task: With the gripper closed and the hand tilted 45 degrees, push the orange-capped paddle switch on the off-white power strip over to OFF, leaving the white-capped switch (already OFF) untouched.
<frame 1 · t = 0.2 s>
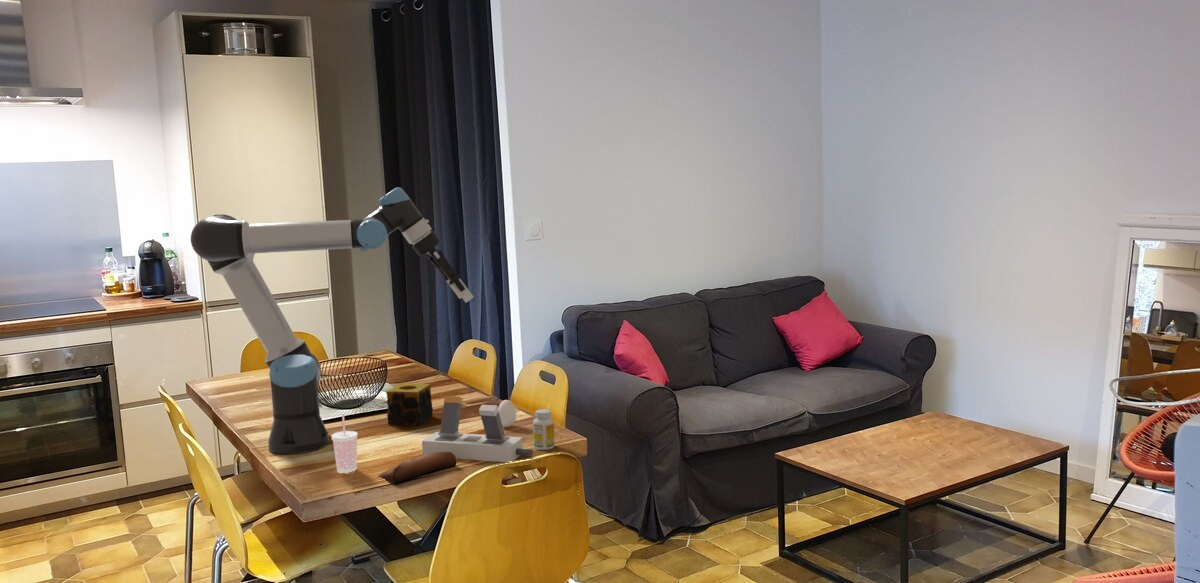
hand: (466, 298, 259), 35 cm above the table, tool tilted 35°, fingers open, 13 cm apart
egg: (507, 427, 253), on the table
sunglasses case: (417, 474, 217), on the table
power strip: (473, 454, 229), on the table
switch orange: (451, 416, 231), point 9 cm above the table, hinge at -25.0°
candle: (410, 421, 261), on the table
beverage cup: (346, 471, 219), on the table
switch white: (492, 423, 224), point 9 cm above the table, hinge at 25.0°
supplement bottle: (544, 447, 233), on the table
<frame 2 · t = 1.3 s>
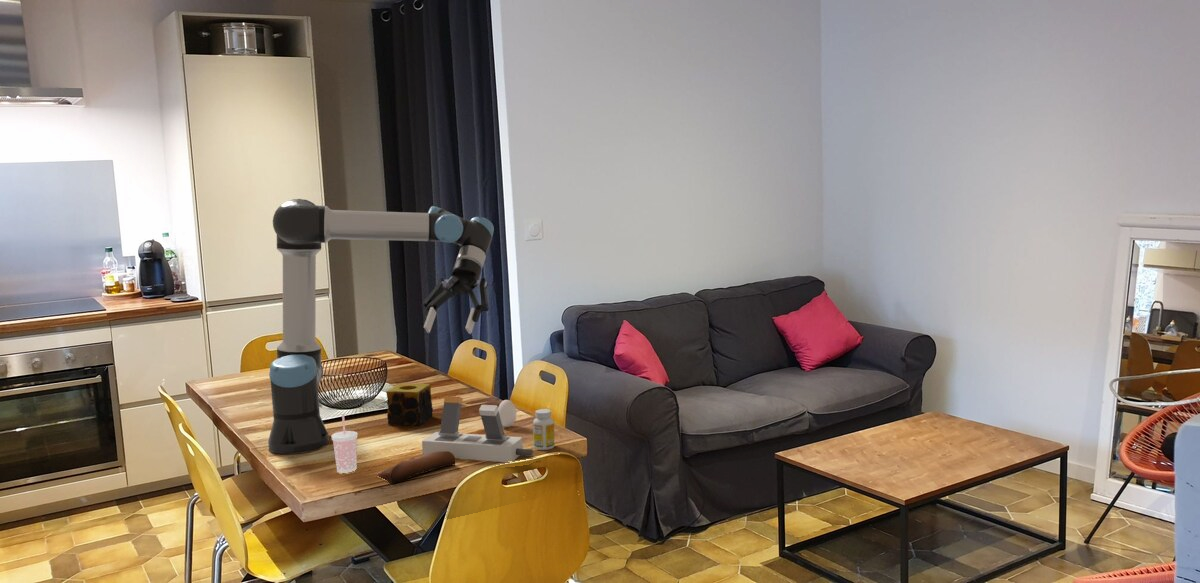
hand: (447, 330, 239), 29 cm above the table, tool tilted 45°, fingers open, 11 cm apart
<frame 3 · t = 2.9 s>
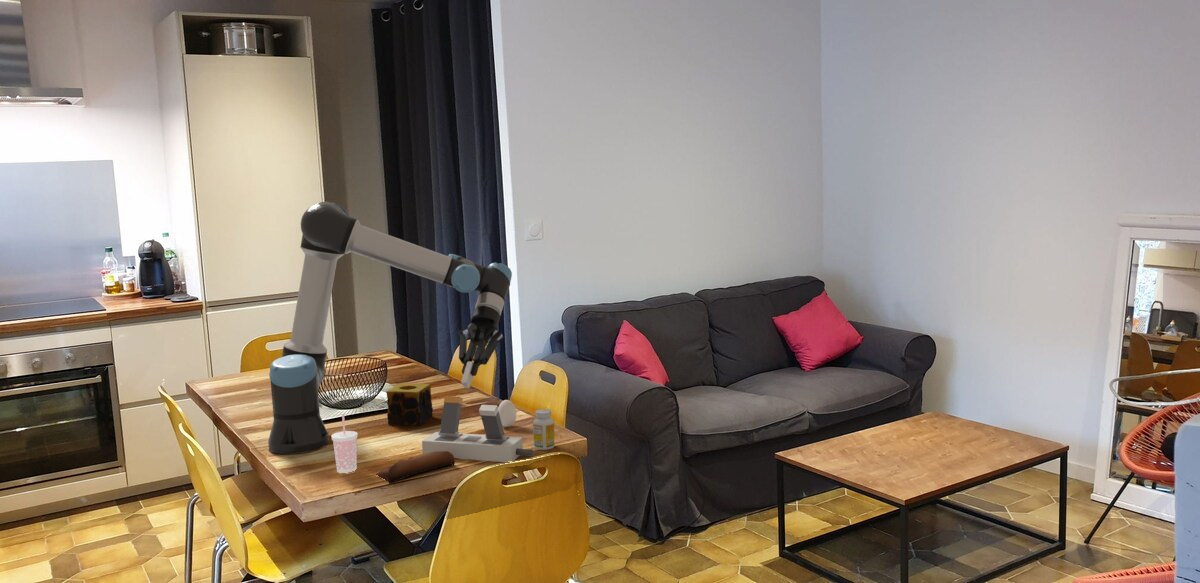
hand: (465, 385, 239), 15 cm above the table, tool tilted 45°, fingers closed
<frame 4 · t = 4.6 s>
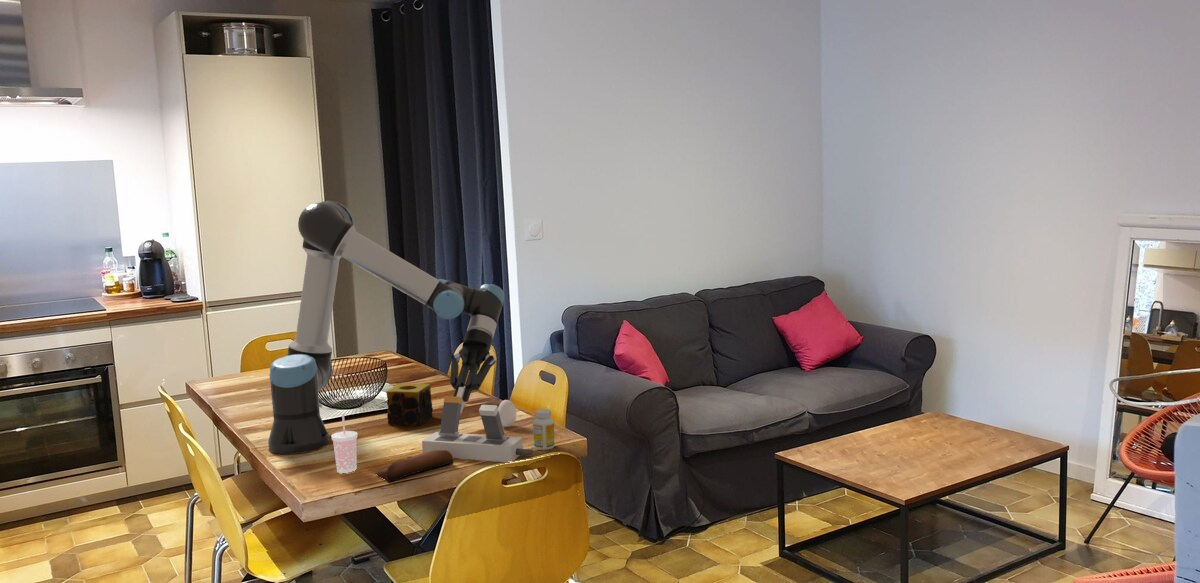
hand: (457, 411, 234), 10 cm above the table, tool tilted 45°, fingers closed
switch orange: (450, 416, 231), point 9 cm above the table, hinge at -24.2°, touching gripper
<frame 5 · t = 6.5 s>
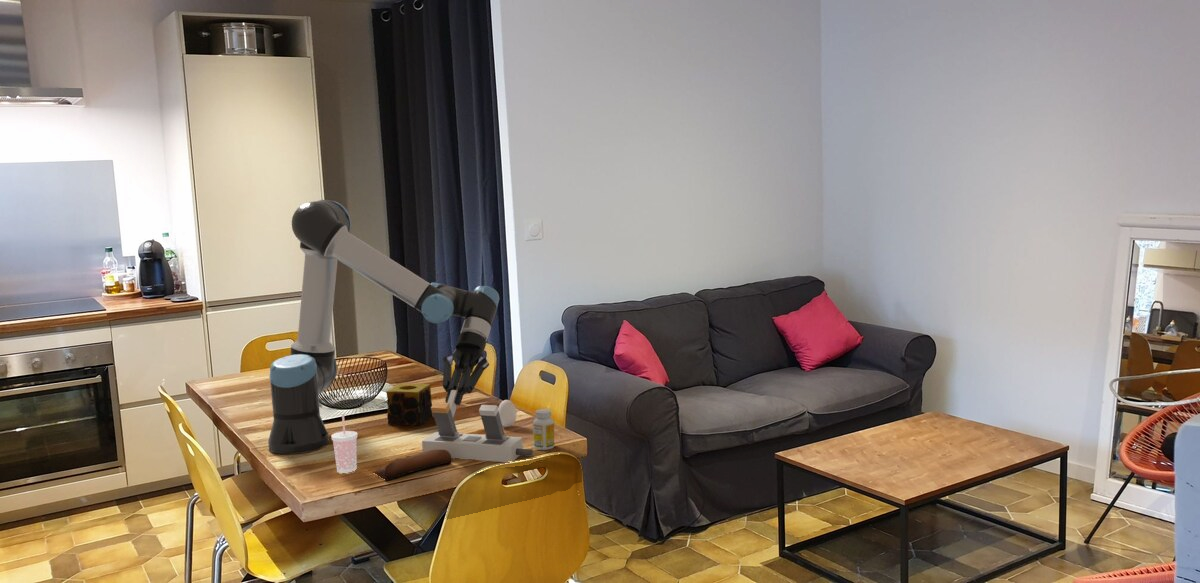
hand: (448, 414, 230), 10 cm above the table, tool tilted 45°, fingers closed
switch orange: (444, 420, 228), point 9 cm above the table, hinge at 25.2°
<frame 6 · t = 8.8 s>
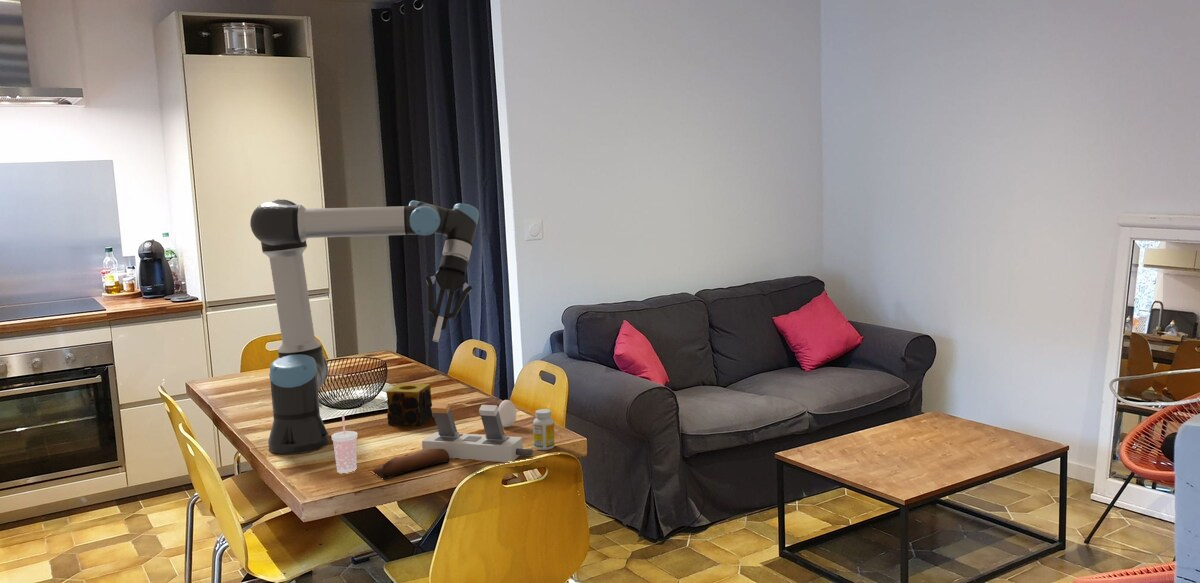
hand: (435, 340, 243), 26 cm above the table, tool tilted 25°, fingers closed
sunglasses case: (409, 470, 220), on the table
everything else where it was.
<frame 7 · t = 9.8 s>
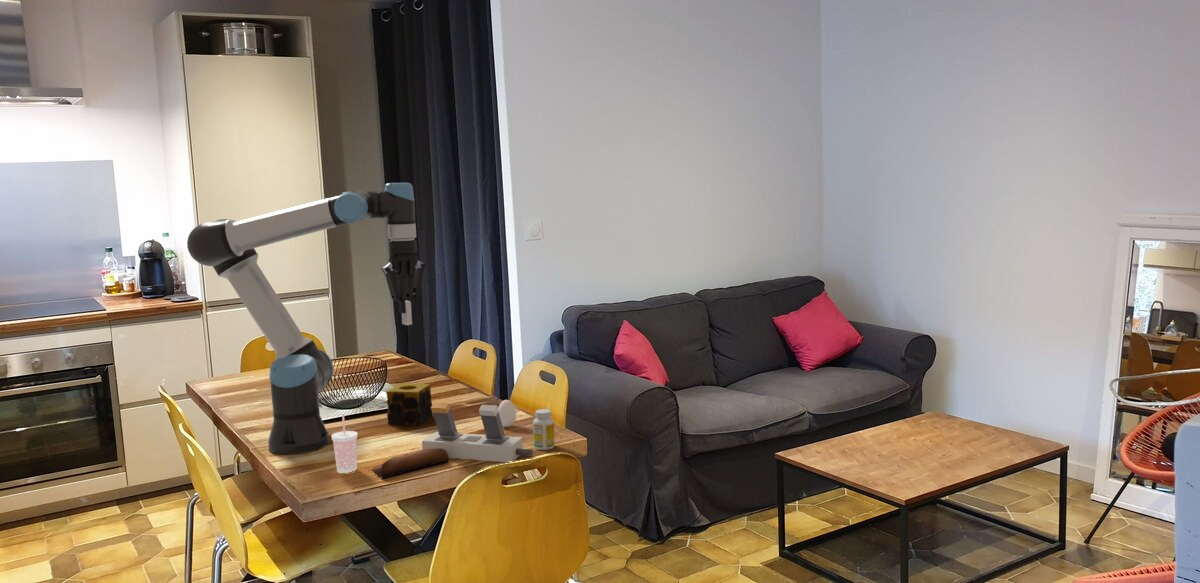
hand: (407, 324, 251), 29 cm above the table, tool pointing down, fingers closed
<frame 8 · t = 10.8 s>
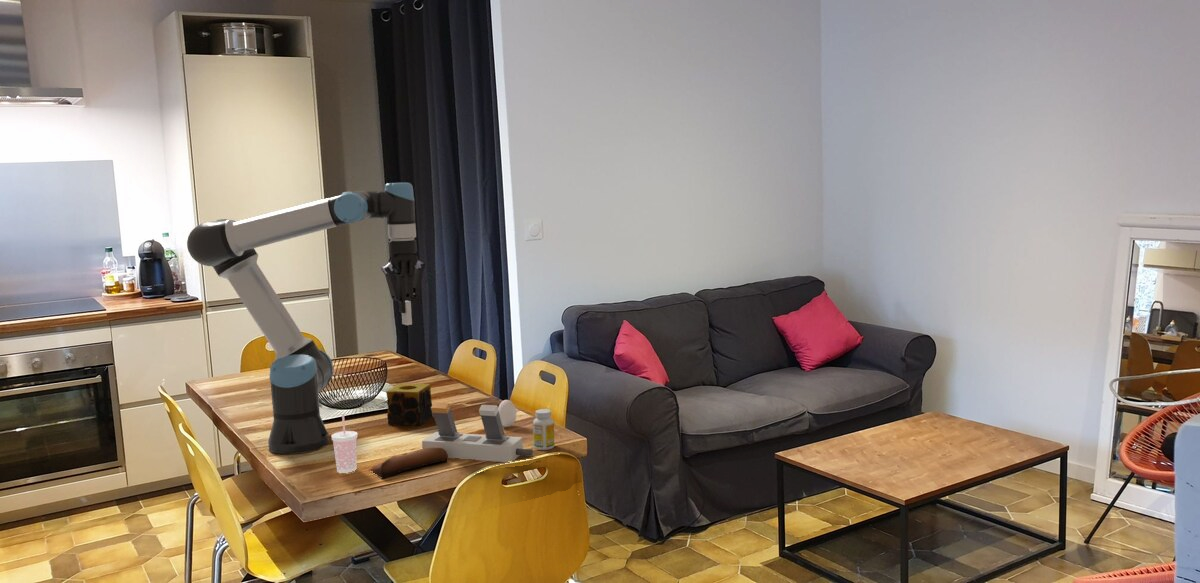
hand: (407, 324, 251), 29 cm above the table, tool pointing down, fingers closed
at the end: switch orange at +25° (first picture: -25°); switch white at +25° (first picture: +25°) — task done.
